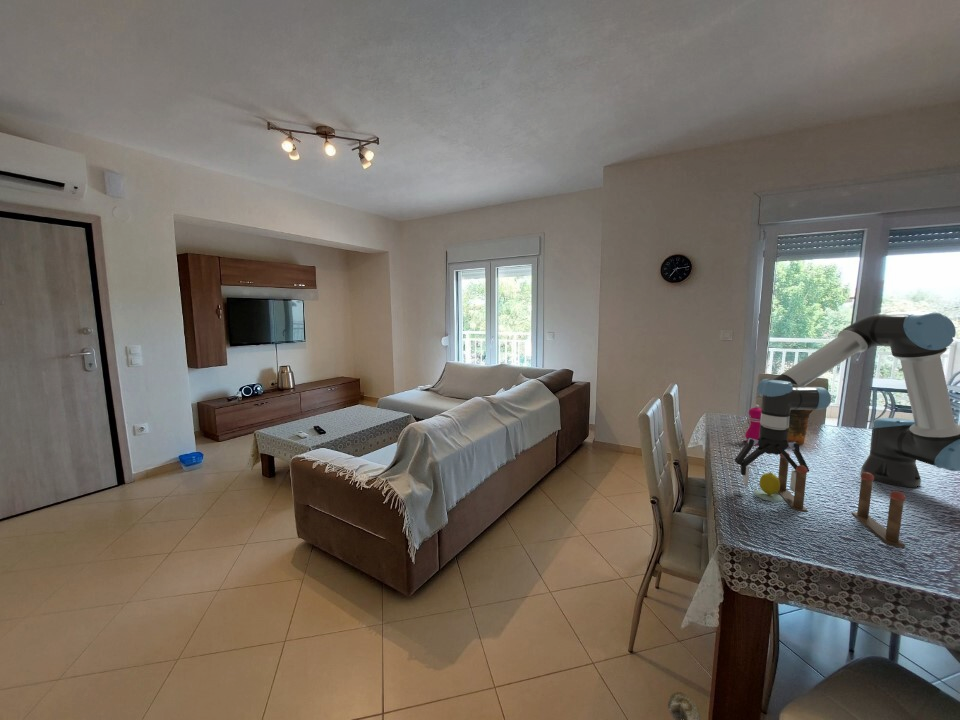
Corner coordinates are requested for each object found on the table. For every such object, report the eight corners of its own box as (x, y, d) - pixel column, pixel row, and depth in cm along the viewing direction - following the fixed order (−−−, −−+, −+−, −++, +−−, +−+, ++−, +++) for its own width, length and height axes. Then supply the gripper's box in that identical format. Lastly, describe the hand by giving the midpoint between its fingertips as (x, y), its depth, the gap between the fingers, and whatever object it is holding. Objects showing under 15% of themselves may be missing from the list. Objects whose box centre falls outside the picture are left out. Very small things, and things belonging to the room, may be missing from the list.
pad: (777, 493, 130) (777, 492, 130) (786, 504, 122) (787, 502, 122) (750, 490, 132) (750, 488, 132) (757, 500, 125) (758, 498, 125)
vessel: (812, 450, 171) (817, 408, 169) (773, 445, 179) (777, 404, 176) (806, 442, 183) (810, 402, 181) (769, 437, 191) (773, 399, 188)
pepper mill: (759, 443, 181) (763, 403, 179) (765, 448, 174) (769, 406, 172) (742, 442, 183) (745, 402, 181) (747, 447, 176) (750, 405, 174)
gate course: (842, 497, 127) (847, 456, 125) (904, 547, 99) (911, 495, 98) (773, 488, 133) (776, 449, 132) (813, 532, 106) (818, 483, 104)
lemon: (754, 491, 130) (756, 469, 129) (769, 491, 130) (771, 469, 129) (768, 499, 124) (770, 476, 123) (783, 498, 125) (785, 475, 124)
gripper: (814, 427, 124) (808, 488, 126) (727, 420, 132) (723, 477, 135) (826, 433, 117) (819, 498, 119) (733, 426, 125) (729, 486, 128)
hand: (768, 487), depth 127 cm, fingers open, 13 cm apart
